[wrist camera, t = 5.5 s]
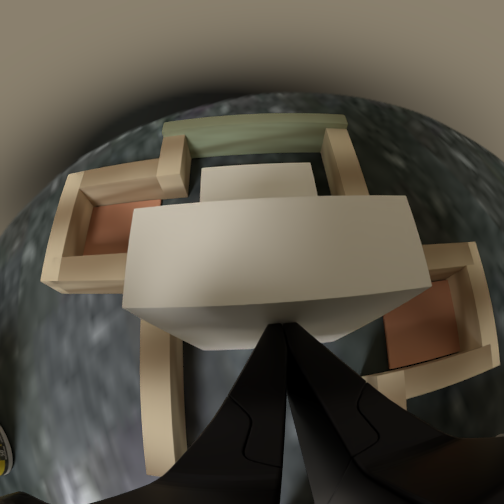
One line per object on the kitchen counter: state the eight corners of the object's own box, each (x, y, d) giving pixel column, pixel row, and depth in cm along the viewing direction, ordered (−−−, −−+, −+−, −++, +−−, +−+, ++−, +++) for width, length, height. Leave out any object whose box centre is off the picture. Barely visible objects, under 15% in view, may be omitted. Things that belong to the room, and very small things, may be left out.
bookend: (333, 341, 15) (432, 286, 6) (203, 350, 15) (122, 307, 6) (307, 176, 19) (331, 47, 10) (205, 182, 19) (175, 52, 10)
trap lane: (478, 410, 12) (507, 410, 9) (59, 440, 12) (31, 445, 9) (413, 148, 21) (426, 124, 18) (92, 164, 21) (77, 140, 18)
